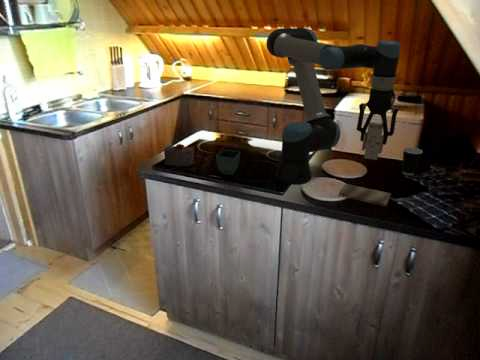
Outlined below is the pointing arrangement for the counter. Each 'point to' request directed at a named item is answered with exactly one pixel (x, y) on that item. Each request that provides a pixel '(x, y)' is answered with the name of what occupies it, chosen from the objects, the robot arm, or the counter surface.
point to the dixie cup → (410, 160)
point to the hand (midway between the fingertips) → (371, 150)
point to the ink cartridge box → (373, 140)
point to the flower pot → (228, 161)
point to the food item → (179, 155)
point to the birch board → (365, 194)
